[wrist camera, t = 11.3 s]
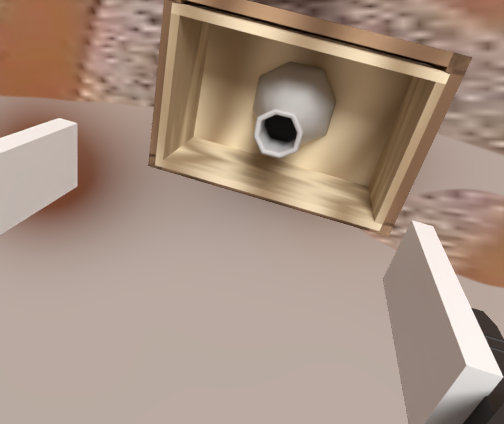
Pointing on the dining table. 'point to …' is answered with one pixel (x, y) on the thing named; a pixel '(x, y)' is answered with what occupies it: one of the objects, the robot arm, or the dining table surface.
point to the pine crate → (309, 154)
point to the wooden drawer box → (238, 4)
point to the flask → (291, 108)
